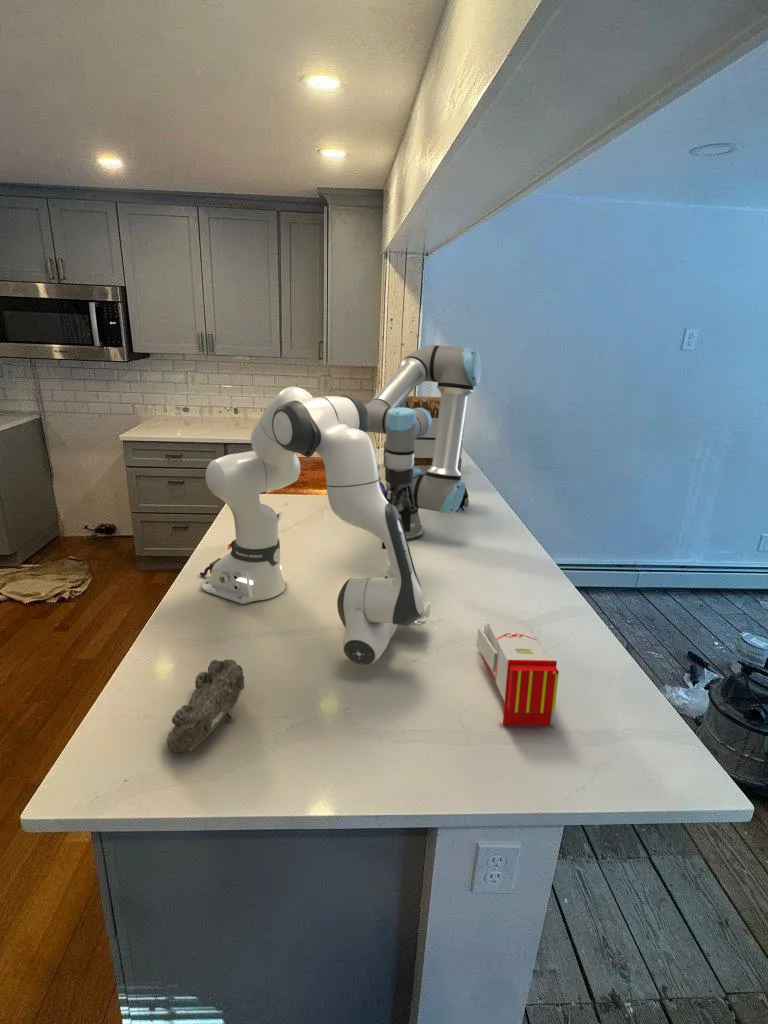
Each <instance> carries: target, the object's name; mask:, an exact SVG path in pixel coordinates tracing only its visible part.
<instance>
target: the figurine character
mask: <svg viewBox="0 0 768 1024" xmlns="http://www.w3.org/2000/svg"><path fill="white" fill-rule="evenodd" d="M469 505H470V500H469V492H468V490H467V488H466V486H465V491H464V495H463V499H462V501H461V504H460V506H459V508H458V509H461V511H462V512H464V511H465V508H469Z"/></svg>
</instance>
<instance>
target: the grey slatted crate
mask: <svg viewBox="0 0 768 1024" xmlns="http://www.w3.org/2000/svg"><path fill="white" fill-rule="evenodd" d="M440 400H441V396H415V395H414V396H413V395H412V396H411V395H408V396H407V398H406V399H405V400H404V401H403V403H402V404H401V405H400V406H399V408H401V407H402V408H410V409H414V408H423V409H425V410H427V411H428V412H429V413H430V415H431V418H432V425H431V427H430V429H429V430H428V431H427V432H426V433H425V434H424V435H422V436H420V437H418V438H417V439H415V448H414V467H417V466H418V467H431V466H432V462H433V454H434V446H435V438H436V431H437V423H438V415H439V407H440ZM464 422H465V419H464ZM464 429H465V424H464V425H463V432H462V439H463V438H464V431H465V430H464ZM462 439H461V446H460V454H459V461H458V471H459V472H460V473H461V472H462V461H463V460H462V453H463V442H464V441H463V440H462ZM385 453H386V437H385V438H384V442H383V466H384V467H387V466H386V456H385ZM461 474H462V473H461Z"/></svg>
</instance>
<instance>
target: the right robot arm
mask: <svg viewBox="0 0 768 1024" xmlns="http://www.w3.org/2000/svg"><path fill="white" fill-rule="evenodd" d="M481 378H482V361H481V355H480V353H479V351H478V350H477V349H476V348H474V347H467V346H453V345H437V344H429V345H425V346H423V347H420V348H418V349H416V350H414V351H412V352H410V353H409V354H407V355H406V356H405V357H404V358H403V359H402V360H401V361H400V362H399V364H398V367H397V370H396V372H395V373H393V375H392V376H391V377H390V378H389V379H388V381H387V382H386V383H385V384H384V385H383V386H382V387H381V388H380V390H379V391H378V392H377V393H376V394H375V395H374V396H373V398H372V399H371V400H370V401H369V402H368V403H367V404H366V403H363V404H364V405H365V407H366V409H367V411H368V415H369V426H368V430H367V432H366V433H375V434H383V435H385V438H386V441H385V442H386V453H385V456H386V466H385V471H384V480H385V490H386V491H385V496H384V497H385V498H386V500H387V501H388V502H389V503H390V504H391V505H393V506H395V507H396V509H397V511H398V513H399V515H400V518H401V521H402V524H403V527H404V531H405V534H406V538H407V541H410V540H415V539H418V538H420V537H421V536H422V535H423V525H422V524H421V518H420V515H419V509H420V510H427V511H433V512H438V513H440V514H451V515H452V514H454V513H456V512H457V511H458V509H460V508H459V506H460V504H461V501H462V499H463V495H464V491H465V487H466V481H464V480H463V479H462V473H460V472H459V471H458V461H459V454H460V446H461V440H462V439H463V438H462V432H463V425H464V426H465V421H464V420H465V416H466V410H467V409H466V408H467V401H468V397H469V396H470V395H471V394H472V393H473V392H474V387H477V386H479V385H480V383H481ZM425 382H433V383H437V390H438V391H439V392H440V397H441V400H440V407H439V415H438V423H437V431H436V438H435V446H434V454H433V462H432V465H430V466H429V468H428V469H427V470H426V473H425V474H422V470H421V468H419V467H416V466H414V448H415V439H417V438H418V437H420V436H422V435H424V434H425V433H426V432H427V431H428V430H429V429H430V427H431V425H432V418H431V415H430V413H429V412H428V411H427V410H425V409H423V408H414V409H410V408H402V407H401V408H399V406H400V405H401V404H402V403H403V401H404V400H405V399H406V398H407V396H410V394H411V393H412V391H413V390H414V389H415V388H416V387H418V386H420V385H422V384H423V383H425ZM463 433H464V432H463ZM381 549H382V550H386V547H385V545H384V543H383V542H382V541H381Z"/></svg>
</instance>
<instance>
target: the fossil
mask: <svg viewBox="0 0 768 1024" xmlns="http://www.w3.org/2000/svg"><path fill="white" fill-rule="evenodd" d="M243 670H244V669H243V667H242V665H240V664H237V662H236V661H235V660H234V659H232V658H231V659H227V658H226V659H224V660H223V661H222V660H217V659H212V660H211V661H210V663H209V665H208V666H207V671H201V672H199V673H198V674H197V675H196V676H195V680H194V684H195V685H194V687H195V689H194V690H193V693H192V694H191V697H190V698H189V700H188V704H184V705H182V706H181V707H180V709H177V710H176V711H175V713H174V715H173V716H172V718H171V723H172V724H173V727H172V730H171V731H170V732H168V734H167V738H166V741H167V742H166V745H167V749H168V750H169V751H173V752H174V753H176V754H178V753H182V752H188V751H189V752H192V751H193V750H195V748H196V747H197V746H199V744H200V743H201V742H203V741H204V740H205V739H206V738H207V737H208V736H209V735H210V734H211V733H212V732H214V730H215V729H217V727H218V726H219V724H220V722H221V721H222V720H223V719H224V718H225V716H226V717H227V719H229V720H233V717H232V715H230V714H229V710H230V709H231V708H234V706H235V704H236V703H237V702H238V699H239V697H240V695H241V693H242V691H243V690H245V689H244V688H245V675H244V671H243Z"/></svg>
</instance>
